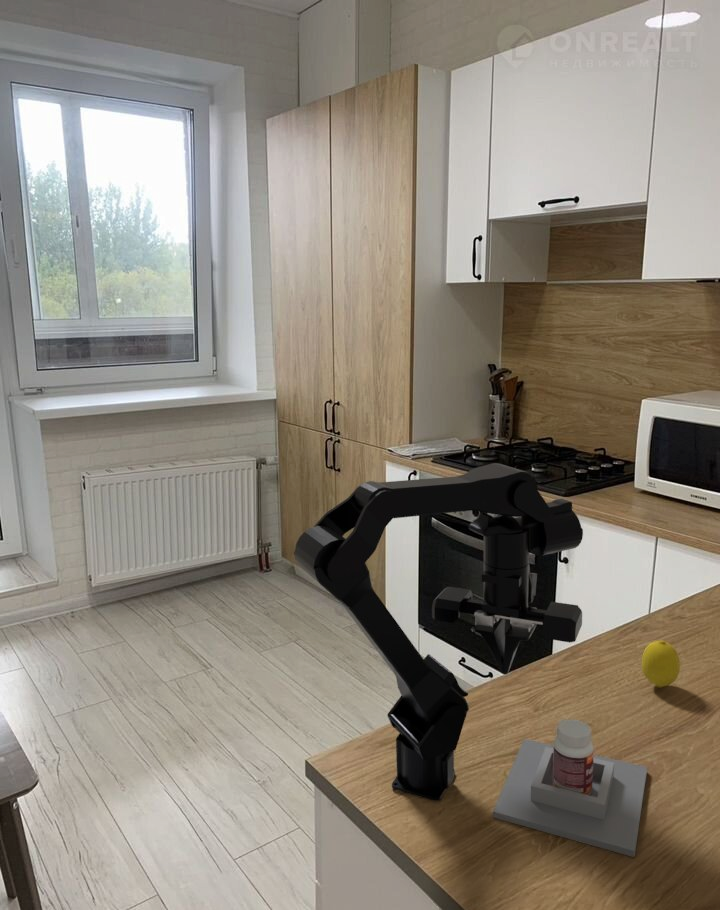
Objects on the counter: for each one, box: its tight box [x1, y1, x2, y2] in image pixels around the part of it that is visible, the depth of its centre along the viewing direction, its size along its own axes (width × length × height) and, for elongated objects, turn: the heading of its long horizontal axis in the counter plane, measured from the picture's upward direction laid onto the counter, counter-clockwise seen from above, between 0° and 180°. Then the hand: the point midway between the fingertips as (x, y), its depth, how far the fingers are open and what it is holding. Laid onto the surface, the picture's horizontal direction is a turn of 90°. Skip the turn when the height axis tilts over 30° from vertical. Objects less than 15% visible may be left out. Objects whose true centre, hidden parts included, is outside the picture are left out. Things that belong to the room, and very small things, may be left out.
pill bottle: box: [552, 718, 595, 795], centre depth 89 cm, size 5×5×8 cm
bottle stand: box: [492, 738, 648, 858], centre depth 90 cm, size 16×16×3 cm
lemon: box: [641, 639, 681, 689], centre depth 113 cm, size 6×6×8 cm
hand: (505, 672), depth 96 cm, fingers closed
